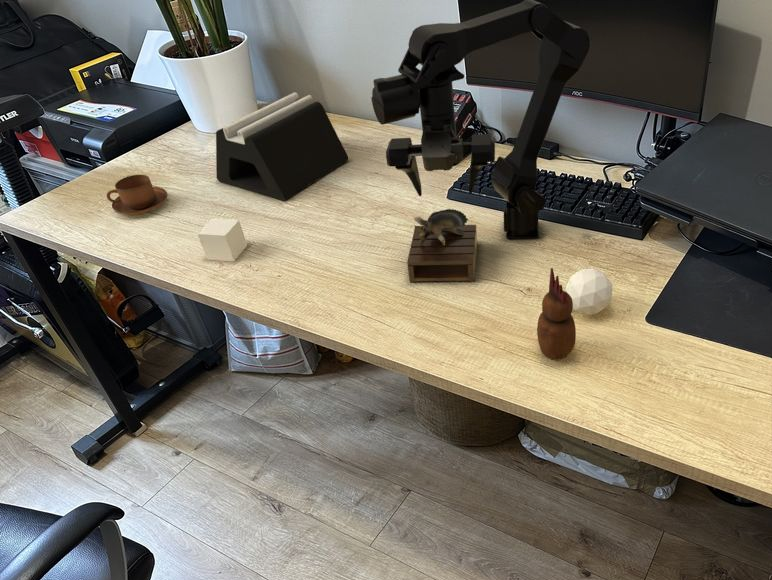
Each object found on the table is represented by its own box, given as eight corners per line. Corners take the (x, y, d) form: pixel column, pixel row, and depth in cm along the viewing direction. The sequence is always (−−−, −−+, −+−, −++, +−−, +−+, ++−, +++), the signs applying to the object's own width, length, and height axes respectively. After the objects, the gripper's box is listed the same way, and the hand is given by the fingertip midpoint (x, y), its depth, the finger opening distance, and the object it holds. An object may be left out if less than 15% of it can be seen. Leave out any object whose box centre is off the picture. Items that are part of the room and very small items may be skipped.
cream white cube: (221, 243, 136) (212, 218, 132) (247, 245, 135) (239, 219, 131) (206, 259, 131) (197, 233, 127) (233, 261, 130) (224, 235, 126)
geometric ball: (575, 317, 115) (561, 274, 114) (620, 303, 113) (605, 259, 112) (571, 324, 108) (556, 278, 107) (619, 309, 105) (603, 262, 105)
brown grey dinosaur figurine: (432, 253, 118) (474, 230, 120) (414, 217, 116) (457, 194, 118) (423, 254, 125) (462, 233, 127) (405, 221, 124) (446, 199, 125)
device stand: (349, 161, 162) (337, 101, 152) (285, 201, 148) (268, 138, 138) (283, 145, 171) (268, 87, 162) (217, 181, 158) (197, 120, 148)
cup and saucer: (126, 225, 144) (114, 200, 140) (107, 207, 151) (96, 182, 147) (178, 205, 149) (168, 181, 145) (158, 189, 156) (148, 164, 152)
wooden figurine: (534, 339, 107) (534, 263, 97) (568, 336, 107) (573, 259, 97) (541, 367, 102) (542, 290, 92) (577, 364, 102) (583, 286, 92)
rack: (477, 243, 130) (476, 224, 127) (474, 281, 120) (472, 261, 117) (417, 244, 131) (415, 225, 128) (409, 282, 121) (406, 262, 118)
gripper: (375, 132, 104) (389, 218, 114) (492, 126, 102) (496, 214, 113) (384, 105, 112) (397, 188, 122) (493, 99, 111) (496, 184, 121)
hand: (445, 194), depth 119 cm, fingers open, 9 cm apart
